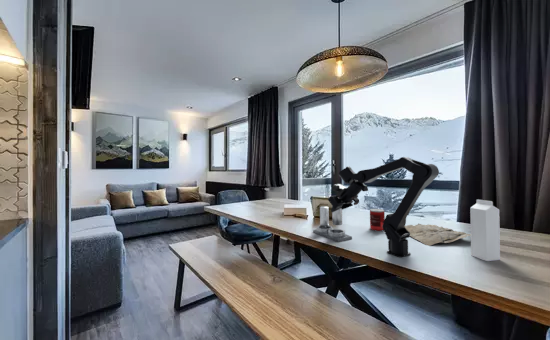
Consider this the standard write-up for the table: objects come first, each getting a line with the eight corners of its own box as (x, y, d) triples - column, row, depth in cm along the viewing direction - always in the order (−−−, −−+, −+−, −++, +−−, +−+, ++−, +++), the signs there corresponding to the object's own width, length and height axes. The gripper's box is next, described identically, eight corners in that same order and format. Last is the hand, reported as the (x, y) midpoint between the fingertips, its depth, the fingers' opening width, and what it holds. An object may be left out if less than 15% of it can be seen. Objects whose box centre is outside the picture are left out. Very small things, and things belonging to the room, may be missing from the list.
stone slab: (485, 248, 101) (485, 237, 101) (418, 248, 105) (417, 237, 105) (442, 227, 134) (442, 219, 134) (392, 228, 138) (392, 219, 138)
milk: (483, 254, 93) (482, 198, 93) (500, 260, 87) (499, 200, 87) (470, 255, 92) (469, 199, 92) (486, 261, 86) (485, 201, 86)
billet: (344, 224, 120) (343, 198, 120) (338, 225, 117) (338, 199, 117) (335, 222, 124) (335, 197, 124) (330, 224, 120) (329, 198, 120)
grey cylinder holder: (352, 239, 117) (351, 210, 117) (338, 242, 113) (337, 212, 112) (326, 229, 135) (325, 205, 134) (313, 232, 130) (312, 206, 130)
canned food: (381, 227, 137) (381, 208, 137) (387, 231, 129) (386, 211, 129) (368, 227, 138) (368, 208, 138) (372, 231, 130) (372, 211, 130)
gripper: (353, 177, 123) (336, 197, 131) (330, 179, 111) (313, 200, 120) (367, 193, 117) (349, 213, 125) (345, 197, 105) (326, 218, 114)
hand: (334, 210), depth 121 cm, fingers closed on billet, 5 cm apart
